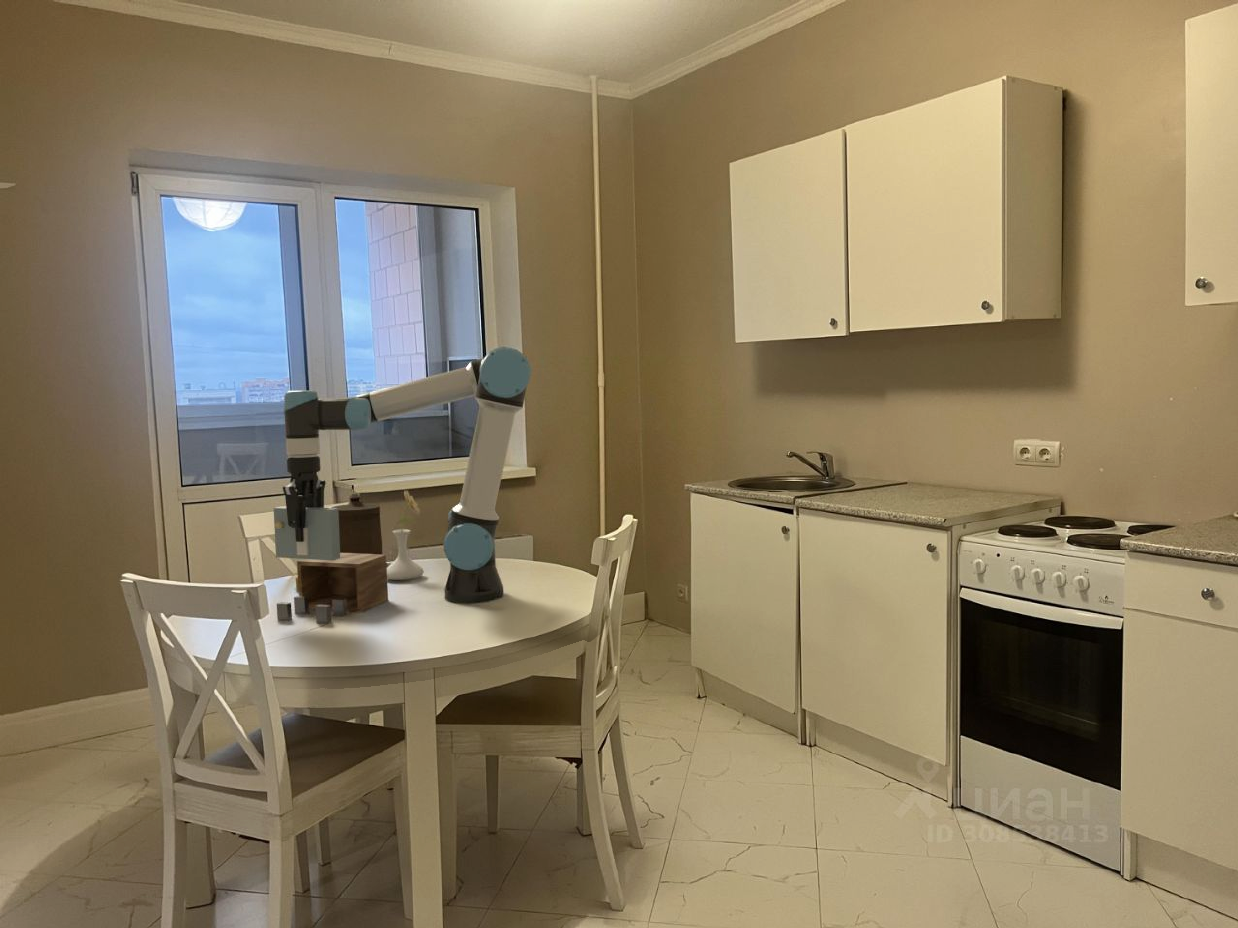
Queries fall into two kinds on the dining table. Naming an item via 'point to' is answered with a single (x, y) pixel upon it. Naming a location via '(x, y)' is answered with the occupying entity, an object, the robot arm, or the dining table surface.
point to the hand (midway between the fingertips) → (307, 553)
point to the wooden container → (359, 527)
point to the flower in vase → (404, 550)
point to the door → (309, 534)
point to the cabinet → (344, 581)
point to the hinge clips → (303, 607)
